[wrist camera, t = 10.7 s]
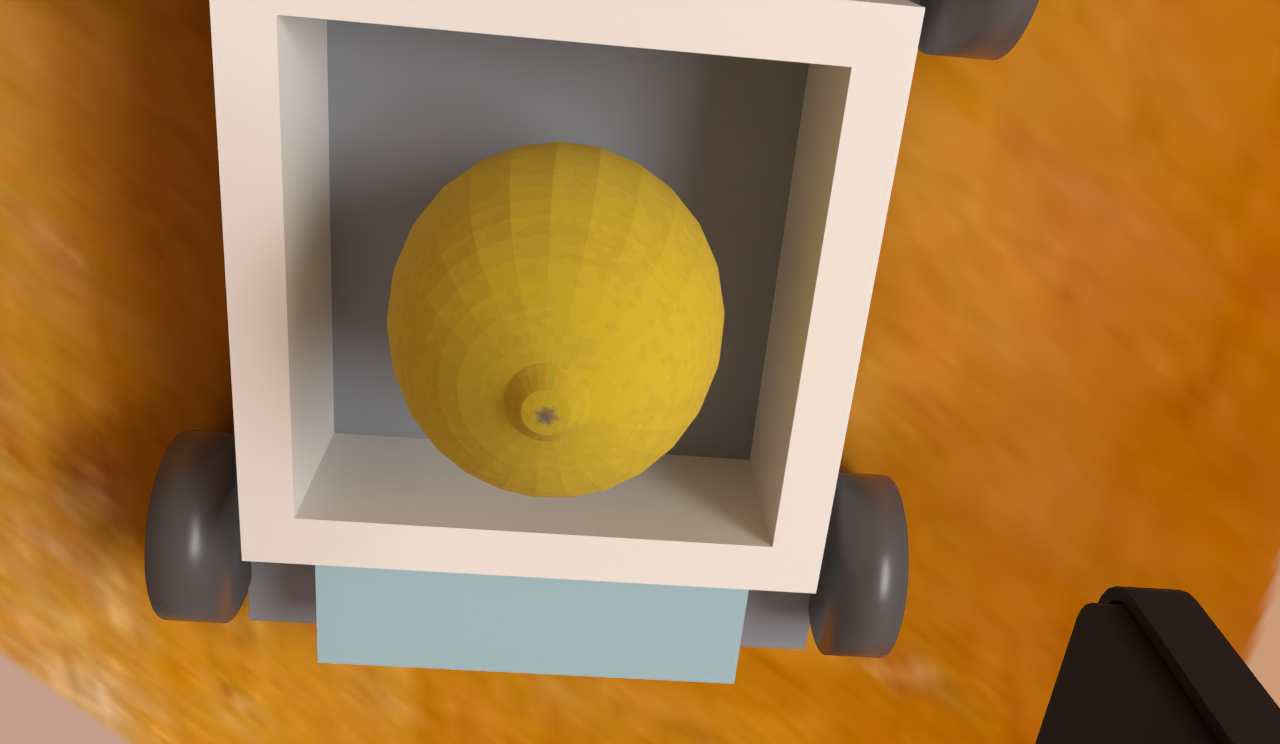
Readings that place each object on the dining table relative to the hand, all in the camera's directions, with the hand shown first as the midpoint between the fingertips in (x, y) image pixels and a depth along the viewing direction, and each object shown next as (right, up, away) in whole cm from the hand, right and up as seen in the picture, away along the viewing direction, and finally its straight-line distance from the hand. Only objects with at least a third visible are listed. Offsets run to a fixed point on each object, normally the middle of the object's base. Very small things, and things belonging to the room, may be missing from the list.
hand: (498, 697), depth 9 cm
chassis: (-1, +6, +15) cm, 16 cm away
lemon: (0, +5, +14) cm, 15 cm away
